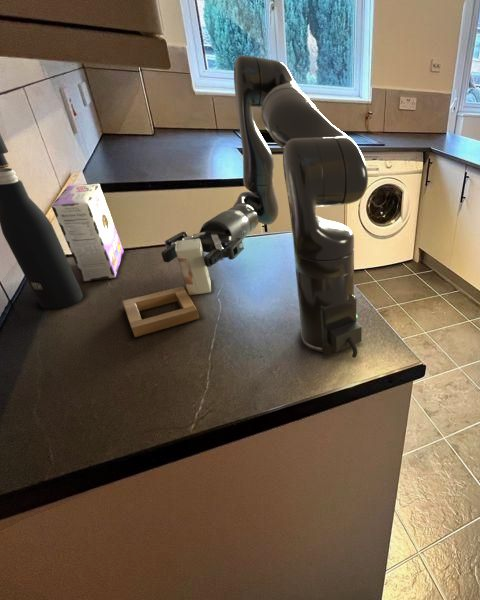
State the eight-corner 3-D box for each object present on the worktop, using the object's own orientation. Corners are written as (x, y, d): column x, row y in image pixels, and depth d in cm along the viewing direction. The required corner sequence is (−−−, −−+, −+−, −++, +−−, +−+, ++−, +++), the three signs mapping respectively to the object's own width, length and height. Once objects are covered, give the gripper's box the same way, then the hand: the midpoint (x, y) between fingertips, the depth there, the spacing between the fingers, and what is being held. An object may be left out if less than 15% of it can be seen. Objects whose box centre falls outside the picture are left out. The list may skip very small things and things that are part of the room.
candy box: (95, 255, 88) (66, 184, 80) (125, 251, 91) (100, 182, 82) (82, 282, 78) (48, 204, 69) (116, 278, 80) (87, 201, 71)
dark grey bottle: (84, 288, 76) (13, 126, 60) (81, 304, 71) (4, 133, 55) (43, 295, 73) (-43, 126, 57) (37, 312, 68) (-58, 133, 52)
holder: (199, 318, 70) (197, 309, 69) (135, 337, 64) (131, 328, 63) (185, 294, 76) (182, 286, 75) (125, 309, 71) (122, 300, 70)
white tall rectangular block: (188, 284, 80) (176, 239, 75) (211, 281, 81) (201, 237, 76) (187, 296, 76) (174, 250, 71) (211, 293, 77) (200, 248, 72)
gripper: (193, 211, 85) (144, 238, 71) (254, 217, 84) (216, 246, 70) (200, 242, 89) (155, 273, 75) (259, 248, 88) (224, 281, 74)
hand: (185, 260), depth 73 cm, fingers open, 8 cm apart
